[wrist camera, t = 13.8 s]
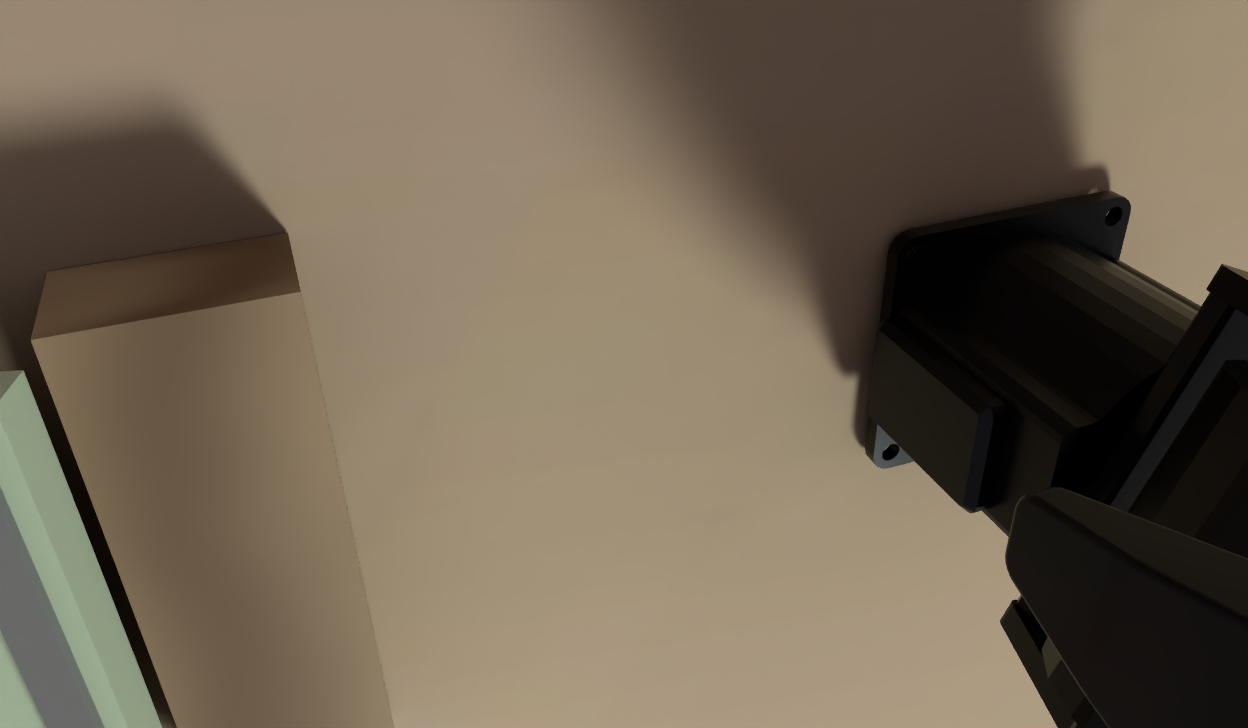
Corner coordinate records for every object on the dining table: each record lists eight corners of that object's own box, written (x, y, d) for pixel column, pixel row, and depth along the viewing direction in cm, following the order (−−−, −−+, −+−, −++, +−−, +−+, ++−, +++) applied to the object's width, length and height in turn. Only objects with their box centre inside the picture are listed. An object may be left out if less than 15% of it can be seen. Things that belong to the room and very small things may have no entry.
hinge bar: (287, 232, 19) (300, 291, 17) (391, 715, 26) (409, 797, 24) (47, 271, 18) (30, 340, 16) (222, 764, 25) (225, 856, 23)
